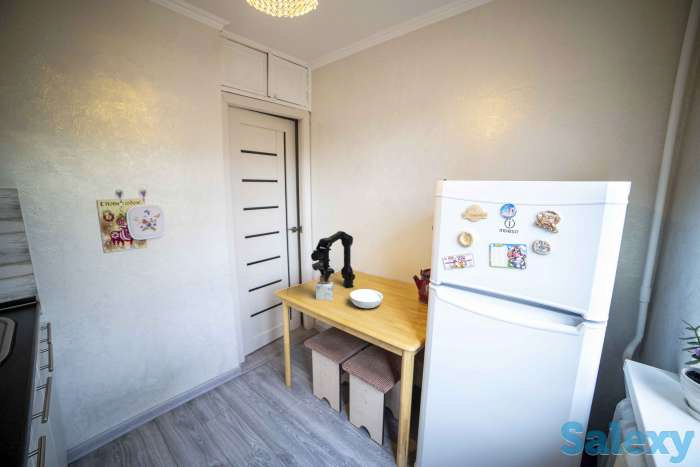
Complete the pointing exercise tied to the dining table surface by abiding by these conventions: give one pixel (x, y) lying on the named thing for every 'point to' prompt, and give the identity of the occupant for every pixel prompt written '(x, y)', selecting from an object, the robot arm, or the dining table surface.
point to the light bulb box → (324, 291)
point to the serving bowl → (366, 298)
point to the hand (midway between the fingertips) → (324, 280)
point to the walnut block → (322, 279)
